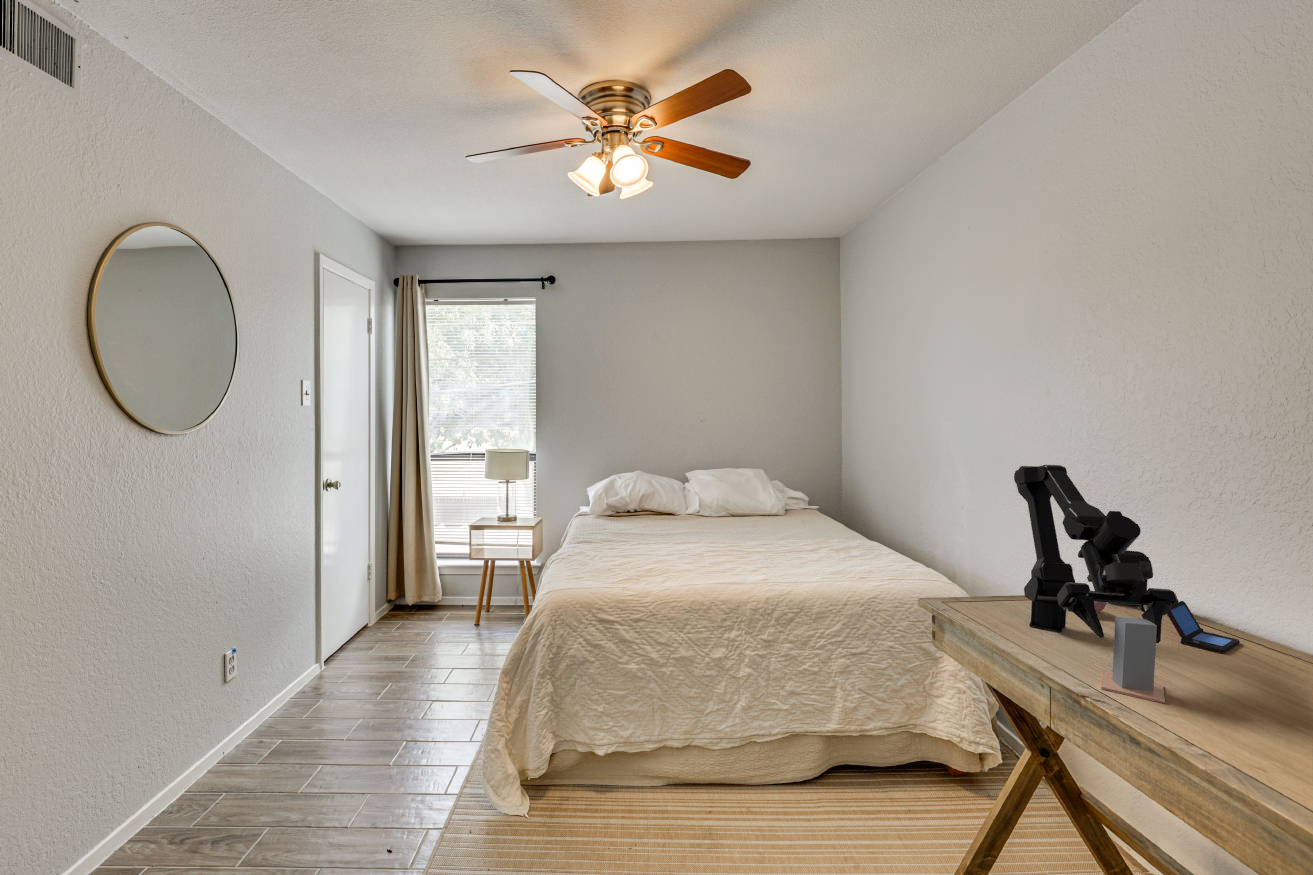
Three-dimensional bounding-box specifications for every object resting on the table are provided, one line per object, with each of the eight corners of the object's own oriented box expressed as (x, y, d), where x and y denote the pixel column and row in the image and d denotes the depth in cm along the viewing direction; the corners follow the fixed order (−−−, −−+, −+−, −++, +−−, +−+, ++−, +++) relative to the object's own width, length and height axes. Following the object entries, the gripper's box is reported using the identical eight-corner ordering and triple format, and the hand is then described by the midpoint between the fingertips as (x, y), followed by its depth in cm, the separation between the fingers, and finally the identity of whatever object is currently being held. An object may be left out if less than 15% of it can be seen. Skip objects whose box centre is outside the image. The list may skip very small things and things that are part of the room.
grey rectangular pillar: (1112, 680, 117) (1115, 616, 117) (1142, 682, 116) (1145, 619, 116) (1122, 687, 114) (1125, 622, 113) (1153, 690, 113) (1156, 625, 112)
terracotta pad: (1101, 688, 114) (1101, 686, 114) (1102, 673, 121) (1102, 671, 121) (1164, 703, 108) (1164, 701, 108) (1162, 686, 116) (1162, 684, 116)
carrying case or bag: (1148, 606, 166) (1151, 551, 166) (1152, 609, 164) (1154, 554, 163) (1100, 600, 171) (1103, 547, 170) (1102, 603, 168) (1105, 549, 168)
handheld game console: (1224, 656, 132) (1226, 621, 132) (1161, 640, 141) (1163, 607, 141) (1241, 644, 140) (1243, 611, 139) (1180, 630, 148) (1182, 599, 148)
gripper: (1066, 541, 122) (1089, 614, 112) (1175, 547, 118) (1210, 624, 108) (1047, 571, 130) (1068, 642, 120) (1149, 577, 127) (1179, 652, 116)
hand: (1129, 639), depth 116 cm, fingers open, 9 cm apart
